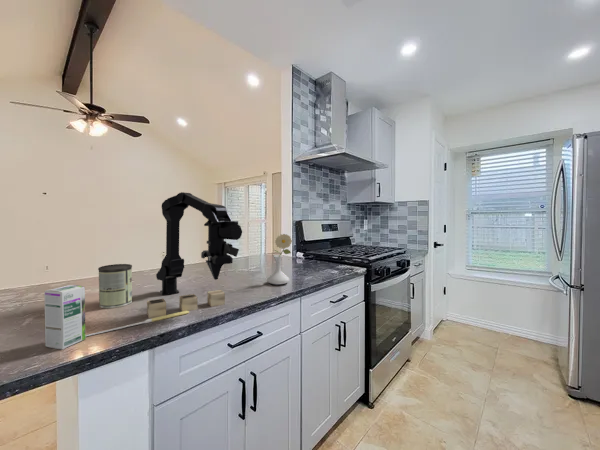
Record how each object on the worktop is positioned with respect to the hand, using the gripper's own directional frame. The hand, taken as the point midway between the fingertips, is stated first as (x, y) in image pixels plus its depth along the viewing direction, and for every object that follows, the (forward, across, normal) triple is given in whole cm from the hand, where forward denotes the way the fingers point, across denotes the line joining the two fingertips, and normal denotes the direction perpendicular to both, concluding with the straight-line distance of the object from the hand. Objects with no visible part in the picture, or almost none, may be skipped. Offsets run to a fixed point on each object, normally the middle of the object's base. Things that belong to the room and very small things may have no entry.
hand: (215, 279), depth 100 cm
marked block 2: (+10, 0, +10) cm, 14 cm away
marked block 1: (+10, 0, +20) cm, 22 cm away
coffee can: (+10, +20, +31) cm, 38 cm away
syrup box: (+10, -10, +42) cm, 44 cm away
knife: (+10, -5, +27) cm, 29 cm away
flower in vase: (+10, +13, -36) cm, 39 cm away
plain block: (+10, 0, 0) cm, 10 cm away
